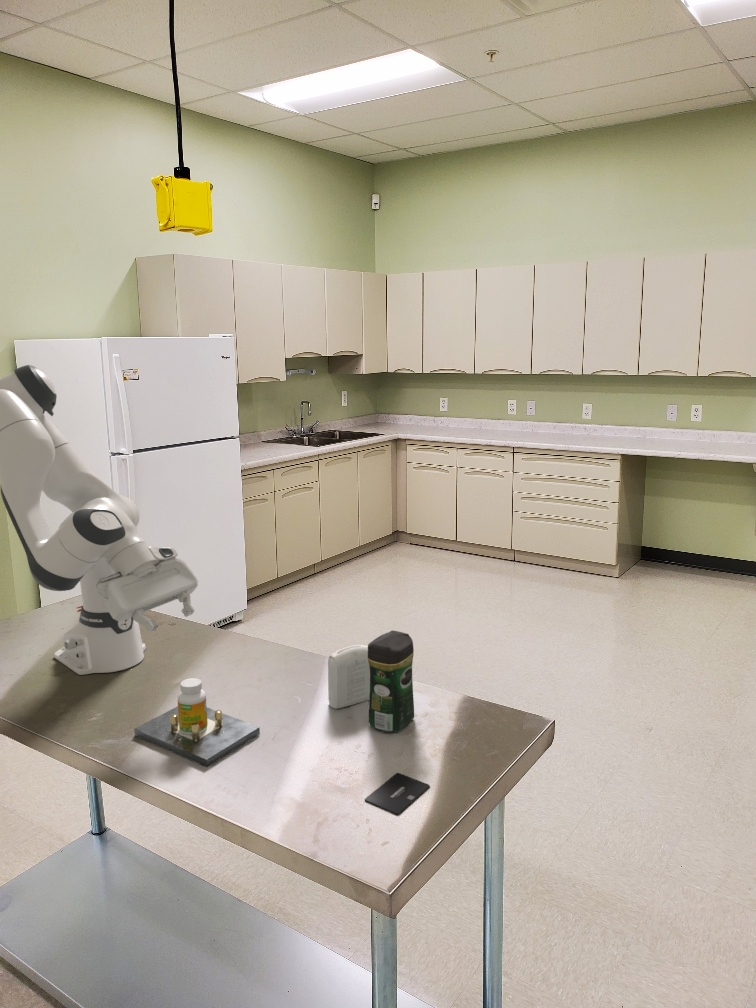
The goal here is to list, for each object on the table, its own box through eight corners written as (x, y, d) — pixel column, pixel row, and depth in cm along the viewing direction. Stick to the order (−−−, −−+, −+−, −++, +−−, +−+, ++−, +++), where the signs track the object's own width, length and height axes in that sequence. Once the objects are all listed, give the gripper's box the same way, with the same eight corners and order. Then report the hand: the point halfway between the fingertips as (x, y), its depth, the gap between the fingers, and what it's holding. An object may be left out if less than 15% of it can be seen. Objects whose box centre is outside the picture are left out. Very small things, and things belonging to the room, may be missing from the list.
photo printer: (366, 691, 168) (365, 638, 166) (377, 698, 165) (376, 645, 162) (325, 703, 163) (324, 649, 160) (335, 711, 159) (334, 656, 157)
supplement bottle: (178, 736, 147) (175, 689, 145) (180, 723, 152) (177, 677, 150) (207, 734, 148) (204, 687, 146) (208, 720, 153) (205, 675, 151)
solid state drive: (430, 788, 133) (430, 785, 133) (398, 817, 125) (398, 813, 125) (397, 775, 137) (397, 772, 137) (363, 802, 129) (363, 799, 129)
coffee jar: (386, 707, 161) (386, 624, 157) (419, 717, 157) (420, 632, 153) (361, 728, 153) (360, 640, 149) (395, 738, 149) (395, 649, 145)
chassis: (134, 735, 151) (133, 714, 150) (189, 707, 162) (187, 687, 161) (206, 767, 140) (205, 744, 139) (259, 734, 151) (258, 713, 150)
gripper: (98, 572, 146) (137, 630, 143) (180, 546, 162) (216, 598, 159) (86, 590, 149) (123, 647, 146) (167, 563, 166) (202, 614, 163)
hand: (172, 621), depth 153 cm, fingers open, 8 cm apart
